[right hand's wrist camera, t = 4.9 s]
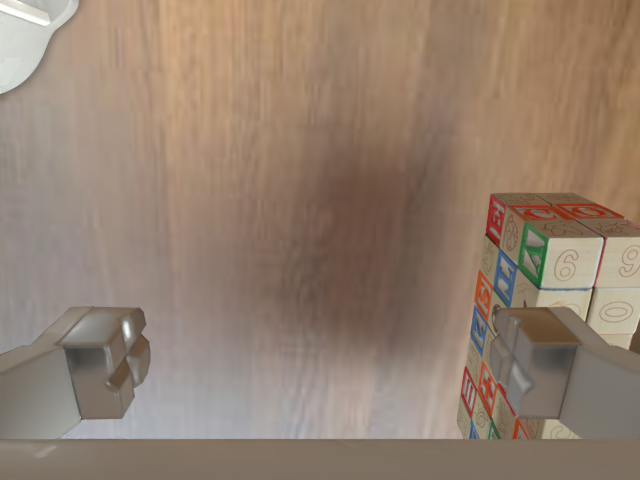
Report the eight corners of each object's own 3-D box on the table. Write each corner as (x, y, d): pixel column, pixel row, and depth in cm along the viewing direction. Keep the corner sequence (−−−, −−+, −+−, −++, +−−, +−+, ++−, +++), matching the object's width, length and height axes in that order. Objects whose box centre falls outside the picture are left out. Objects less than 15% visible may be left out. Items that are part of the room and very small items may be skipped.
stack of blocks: (487, 191, 32) (581, 258, 21) (573, 190, 32) (715, 257, 21) (455, 422, 40) (511, 565, 28) (525, 422, 40) (609, 565, 28)
